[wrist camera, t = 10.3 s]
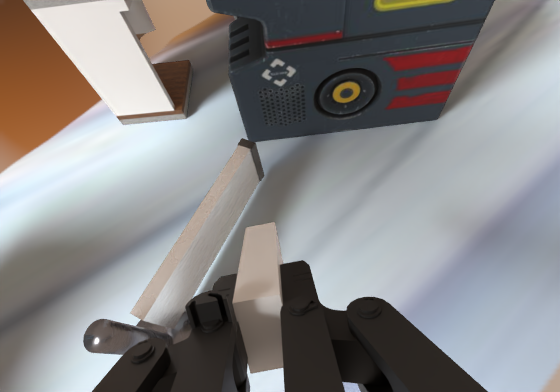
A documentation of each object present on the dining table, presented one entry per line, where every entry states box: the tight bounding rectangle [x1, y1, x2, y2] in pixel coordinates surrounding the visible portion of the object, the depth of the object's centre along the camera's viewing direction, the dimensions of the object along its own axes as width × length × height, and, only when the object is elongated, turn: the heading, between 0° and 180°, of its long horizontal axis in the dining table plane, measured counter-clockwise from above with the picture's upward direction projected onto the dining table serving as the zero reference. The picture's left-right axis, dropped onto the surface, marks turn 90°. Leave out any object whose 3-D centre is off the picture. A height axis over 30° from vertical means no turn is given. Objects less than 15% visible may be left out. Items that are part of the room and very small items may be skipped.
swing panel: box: [130, 138, 264, 329], centre depth 36 cm, size 21×2×7 cm, turn 154°
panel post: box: [83, 311, 192, 355], centre depth 30 cm, size 8×8×12 cm
